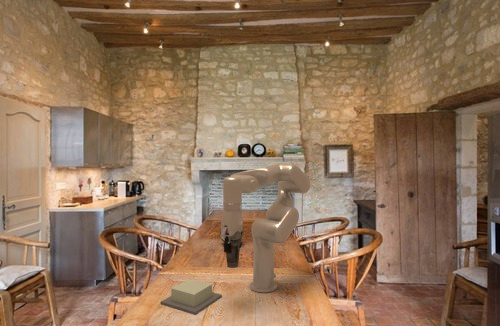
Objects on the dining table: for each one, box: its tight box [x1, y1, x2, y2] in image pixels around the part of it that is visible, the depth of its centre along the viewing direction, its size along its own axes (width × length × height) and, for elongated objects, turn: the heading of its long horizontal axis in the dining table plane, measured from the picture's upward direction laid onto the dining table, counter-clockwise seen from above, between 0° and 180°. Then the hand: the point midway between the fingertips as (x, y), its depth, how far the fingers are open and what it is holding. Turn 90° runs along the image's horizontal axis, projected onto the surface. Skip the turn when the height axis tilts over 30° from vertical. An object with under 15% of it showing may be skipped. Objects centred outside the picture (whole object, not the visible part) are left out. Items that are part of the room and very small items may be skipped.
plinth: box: [160, 278, 223, 315], centre depth 137 cm, size 18×18×6 cm
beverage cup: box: [225, 231, 242, 269], centre depth 134 cm, size 7×7×20 cm
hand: (232, 249), depth 134 cm, fingers closed on beverage cup, 6 cm apart
